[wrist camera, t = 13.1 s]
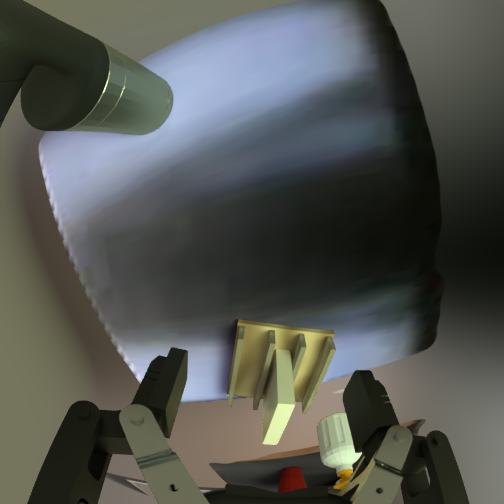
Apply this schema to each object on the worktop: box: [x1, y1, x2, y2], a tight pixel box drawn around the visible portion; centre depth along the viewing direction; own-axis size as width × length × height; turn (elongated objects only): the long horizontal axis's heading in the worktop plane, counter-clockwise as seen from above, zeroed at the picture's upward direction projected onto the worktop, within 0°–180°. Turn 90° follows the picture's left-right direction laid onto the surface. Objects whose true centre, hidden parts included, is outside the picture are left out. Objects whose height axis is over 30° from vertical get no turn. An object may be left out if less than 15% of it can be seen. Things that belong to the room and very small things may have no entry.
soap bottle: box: [317, 413, 362, 489], centre depth 41 cm, size 9×9×25 cm
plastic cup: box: [278, 467, 307, 493], centre depth 57 cm, size 11×11×12 cm
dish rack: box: [227, 319, 336, 414], centre depth 45 cm, size 16×18×4 cm
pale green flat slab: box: [263, 349, 295, 445], centre depth 41 cm, size 2×12×12 cm, turn 172°
